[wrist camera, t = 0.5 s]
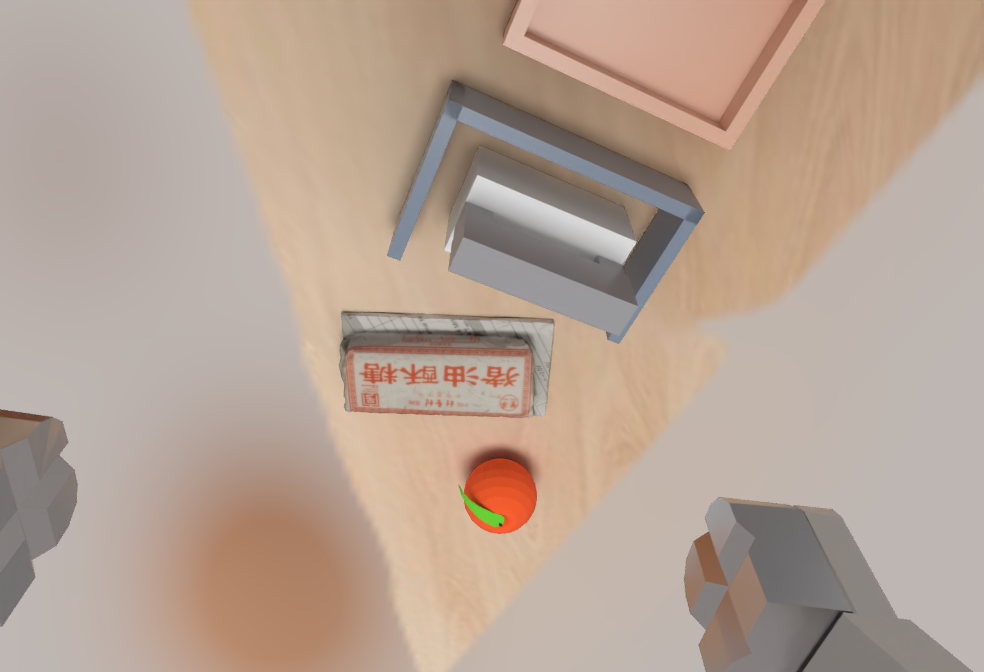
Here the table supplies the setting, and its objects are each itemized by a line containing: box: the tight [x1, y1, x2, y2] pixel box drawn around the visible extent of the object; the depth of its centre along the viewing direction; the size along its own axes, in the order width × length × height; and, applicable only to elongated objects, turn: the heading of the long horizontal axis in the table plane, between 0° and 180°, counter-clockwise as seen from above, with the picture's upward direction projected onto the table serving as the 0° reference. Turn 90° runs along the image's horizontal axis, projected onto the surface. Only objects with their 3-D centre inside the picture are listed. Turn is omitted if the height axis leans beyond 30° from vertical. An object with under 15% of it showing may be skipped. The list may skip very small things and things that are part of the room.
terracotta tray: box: [503, 0, 826, 151], centre depth 44 cm, size 11×17×3 cm, turn 66°
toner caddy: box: [444, 146, 638, 336], centre depth 49 cm, size 6×12×12 cm, turn 66°
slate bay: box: [387, 80, 705, 344], centre depth 51 cm, size 12×19×5 cm, turn 66°
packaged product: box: [339, 312, 554, 418], centre depth 60 cm, size 18×5×10 cm
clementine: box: [459, 458, 537, 534], centre depth 66 cm, size 8×7×7 cm
